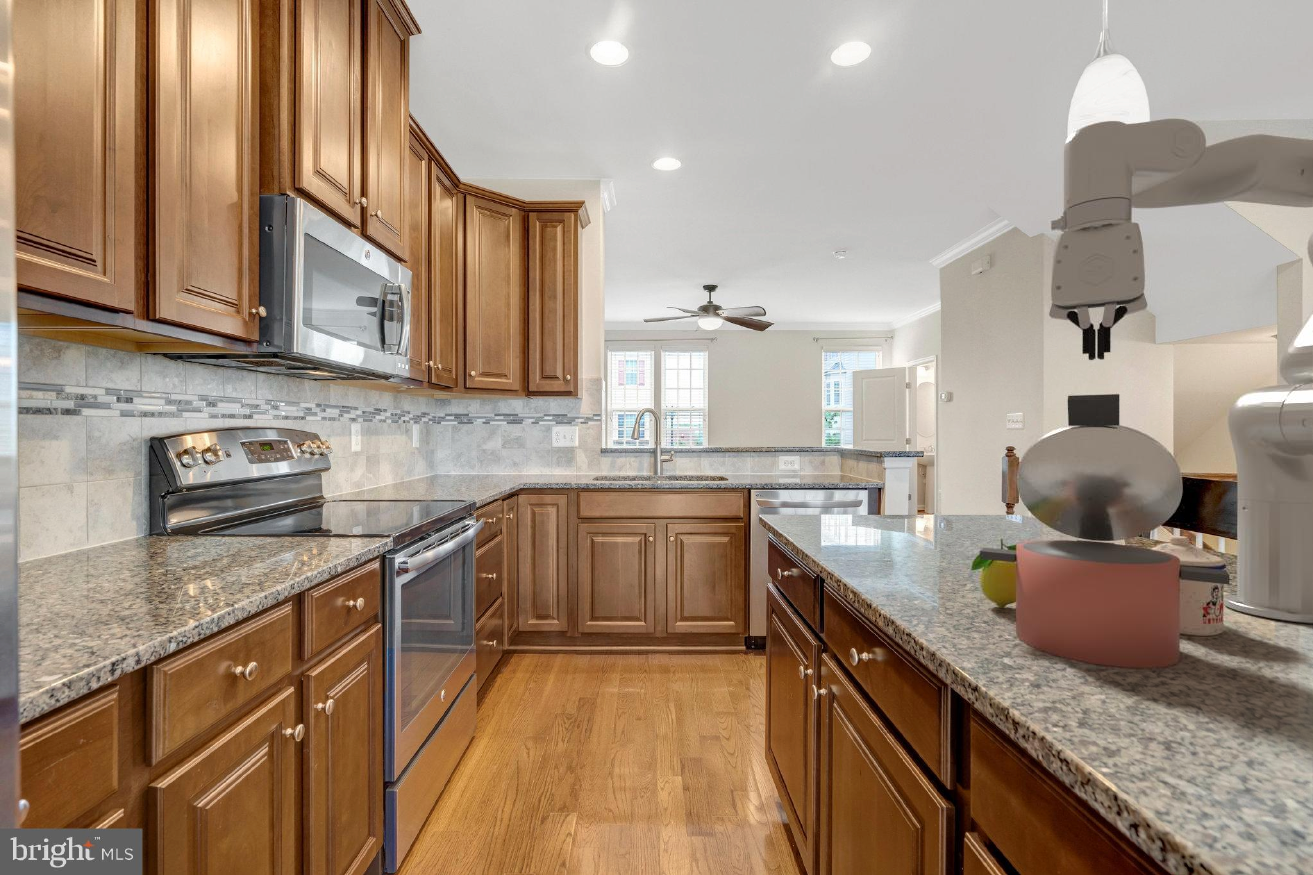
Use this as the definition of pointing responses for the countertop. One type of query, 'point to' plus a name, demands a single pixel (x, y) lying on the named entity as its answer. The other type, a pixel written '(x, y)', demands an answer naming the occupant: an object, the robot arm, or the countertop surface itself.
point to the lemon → (998, 579)
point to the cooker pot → (1100, 600)
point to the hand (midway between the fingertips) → (1096, 358)
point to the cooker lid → (1099, 475)
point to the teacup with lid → (1197, 590)
